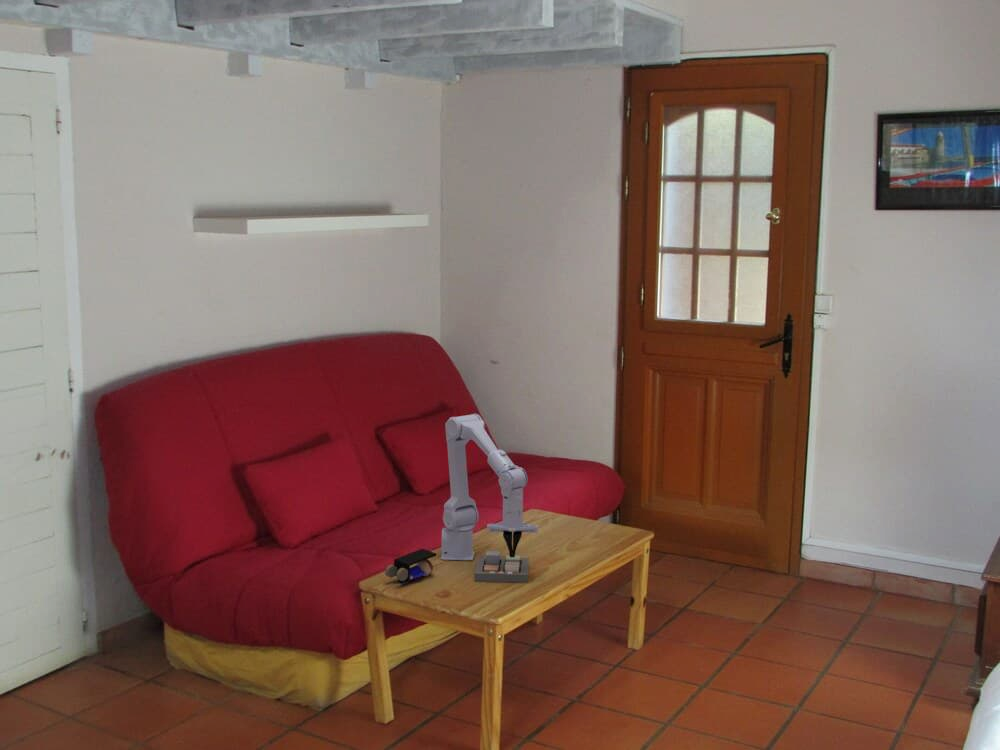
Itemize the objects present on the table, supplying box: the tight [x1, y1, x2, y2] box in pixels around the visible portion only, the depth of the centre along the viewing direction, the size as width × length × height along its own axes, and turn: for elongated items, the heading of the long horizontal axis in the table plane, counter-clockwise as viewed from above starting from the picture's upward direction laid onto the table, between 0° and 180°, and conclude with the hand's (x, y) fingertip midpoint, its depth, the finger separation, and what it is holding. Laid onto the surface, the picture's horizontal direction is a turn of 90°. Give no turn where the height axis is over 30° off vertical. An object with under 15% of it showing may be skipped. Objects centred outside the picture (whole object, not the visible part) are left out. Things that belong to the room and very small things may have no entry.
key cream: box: [505, 562, 519, 572], centre depth 330 cm, size 4×4×2 cm
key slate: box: [484, 550, 501, 565], centre depth 336 cm, size 4×4×3 cm
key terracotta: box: [484, 565, 499, 572], centre depth 331 cm, size 4×4×2 cm
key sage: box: [505, 554, 521, 566], centre depth 336 cm, size 4×4×3 cm
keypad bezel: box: [473, 556, 530, 584], centre depth 334 cm, size 15×15×3 cm
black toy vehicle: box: [384, 548, 437, 586], centre depth 327 cm, size 7×8×15 cm
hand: (512, 556), depth 330 cm, fingers closed
